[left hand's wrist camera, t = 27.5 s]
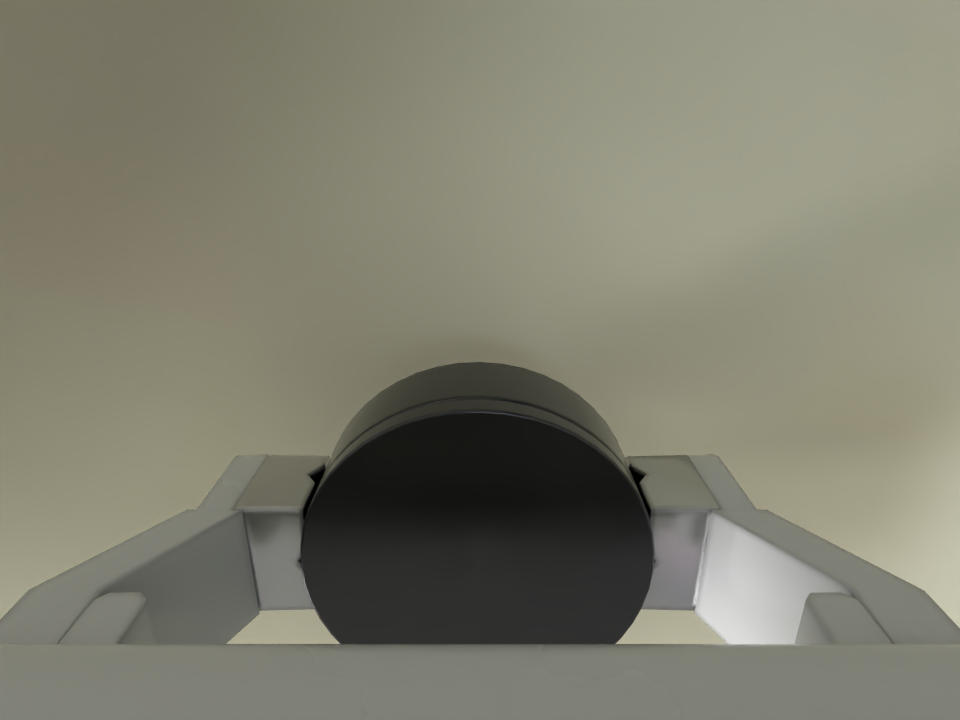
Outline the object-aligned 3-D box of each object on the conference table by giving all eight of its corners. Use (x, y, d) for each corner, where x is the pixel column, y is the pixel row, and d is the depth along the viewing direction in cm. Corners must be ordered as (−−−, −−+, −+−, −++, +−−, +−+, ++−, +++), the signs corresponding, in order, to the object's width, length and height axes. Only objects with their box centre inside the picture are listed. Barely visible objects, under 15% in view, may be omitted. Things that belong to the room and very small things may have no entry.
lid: (612, 616, 11) (635, 700, 9) (339, 613, 11) (314, 696, 9) (644, 362, 9) (677, 412, 8) (315, 357, 9) (281, 406, 8)
